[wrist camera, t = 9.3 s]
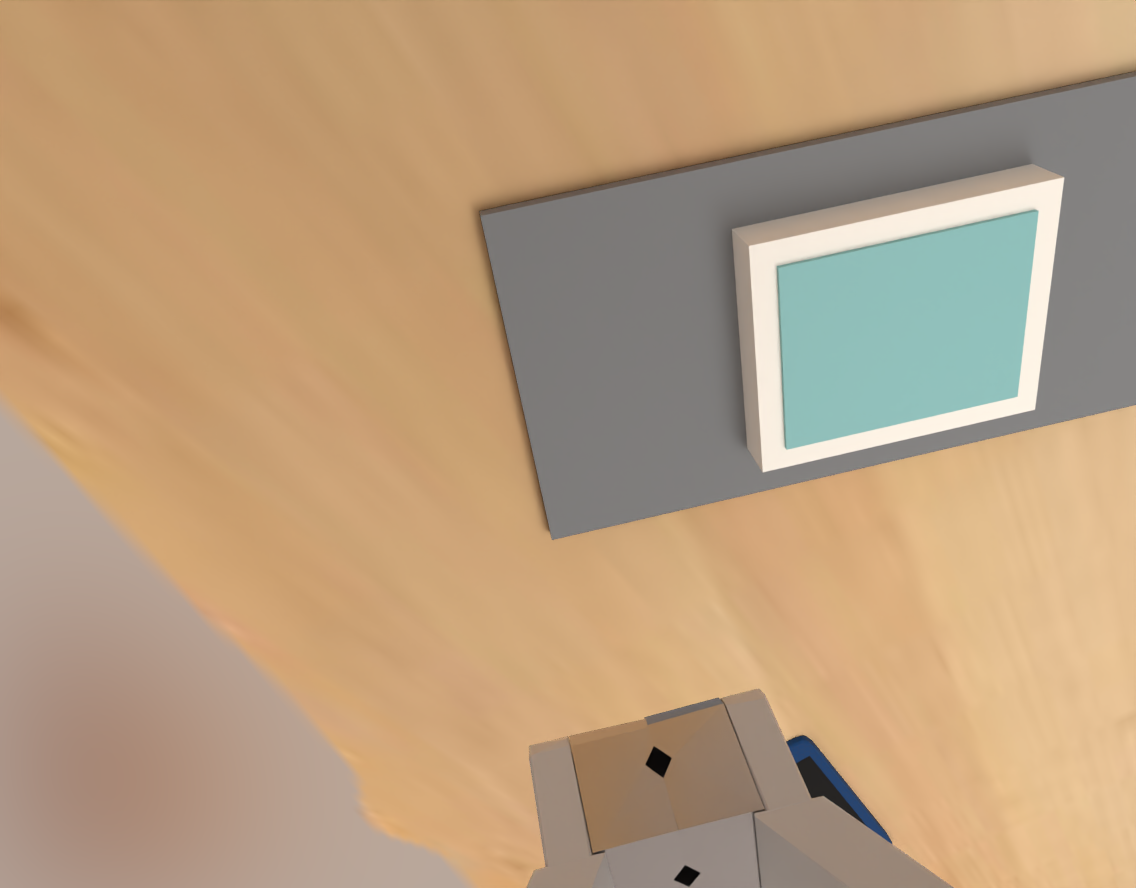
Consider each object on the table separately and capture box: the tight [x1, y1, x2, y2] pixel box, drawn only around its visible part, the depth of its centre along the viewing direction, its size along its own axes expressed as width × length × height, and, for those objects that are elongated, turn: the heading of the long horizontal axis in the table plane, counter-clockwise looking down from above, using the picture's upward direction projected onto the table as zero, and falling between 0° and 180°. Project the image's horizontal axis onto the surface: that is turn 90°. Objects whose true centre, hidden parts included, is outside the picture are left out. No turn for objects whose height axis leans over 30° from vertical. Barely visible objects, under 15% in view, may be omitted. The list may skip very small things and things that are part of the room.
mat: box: [479, 71, 1136, 540], centre depth 38 cm, size 15×30×1 cm, turn 99°
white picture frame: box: [732, 164, 1064, 472], centre depth 37 cm, size 10×2×12 cm
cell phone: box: [786, 736, 892, 844], centre depth 55 cm, size 7×14×1 cm, turn 33°
